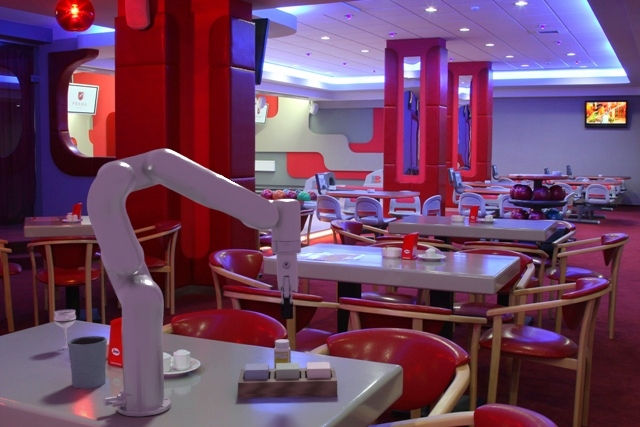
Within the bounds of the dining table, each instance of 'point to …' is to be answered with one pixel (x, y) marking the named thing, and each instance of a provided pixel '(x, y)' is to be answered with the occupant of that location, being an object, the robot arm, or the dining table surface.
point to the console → (287, 386)
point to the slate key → (257, 371)
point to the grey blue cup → (88, 361)
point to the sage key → (287, 370)
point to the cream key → (318, 370)
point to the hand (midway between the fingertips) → (287, 317)
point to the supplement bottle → (282, 352)
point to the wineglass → (65, 320)
